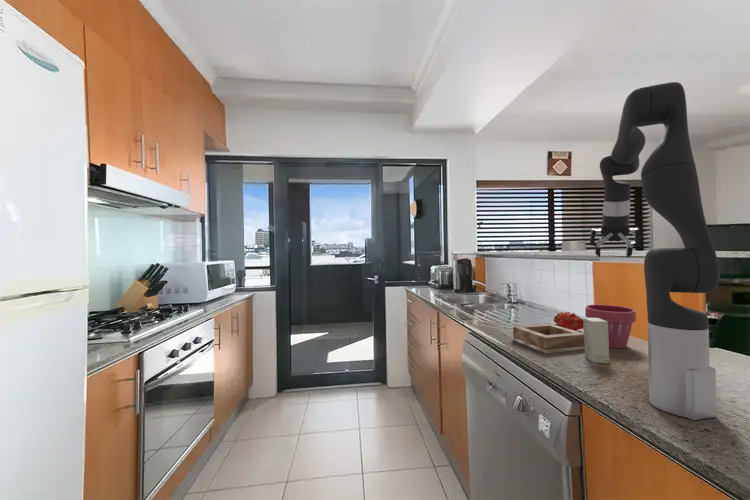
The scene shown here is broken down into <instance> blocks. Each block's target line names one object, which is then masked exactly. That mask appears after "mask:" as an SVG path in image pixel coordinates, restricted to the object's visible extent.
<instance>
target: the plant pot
mask: <svg viewBox="0 0 750 500" xmlns="http://www.w3.org/2000/svg"><path fill="white" fill-rule="evenodd" d="M584 312H585V314H584V315H585V318H600V319H603V320H605V321H608V337H609V349H625V348H627V345H628V342H629V339H630V335H631V330H632V327H633V323H635V322H636V321H637V320H636V319H637V314H636V310H635V309H633V308H631V307H625V306H620V305H611V304H588V305H586V306H585V311H584Z"/></svg>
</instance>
